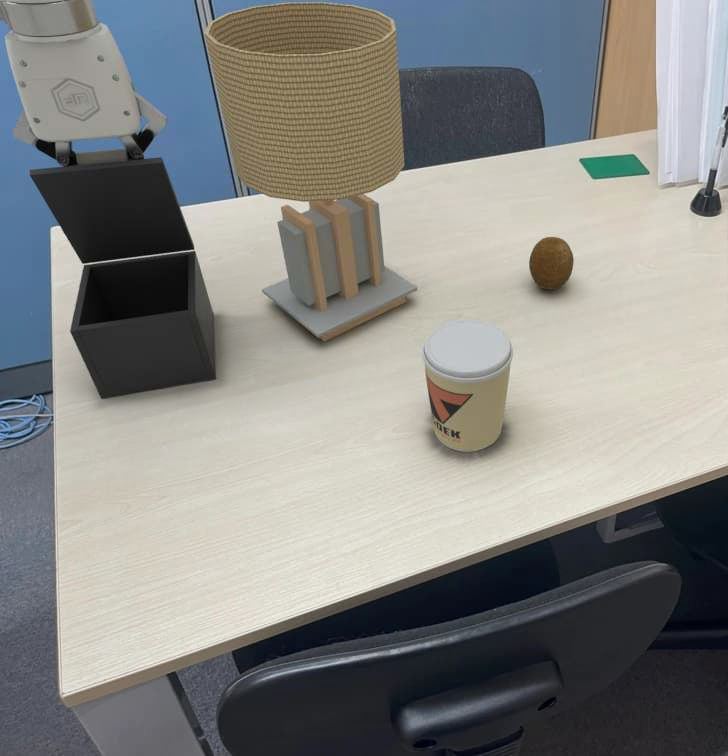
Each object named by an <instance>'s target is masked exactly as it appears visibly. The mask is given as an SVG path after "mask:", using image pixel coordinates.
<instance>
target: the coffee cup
mask: <svg viewBox="0 0 728 756" xmlns="http://www.w3.org/2000/svg"><path fill="white" fill-rule="evenodd" d="M421 347H422V348H421V358H422V361H423V363H424V370H425V371H424V372H425V379H426V385H427V393H428V401H429V407H430V414H431V420H432V426H433V427H432V428H433V432H434V434H435V436H436V438H437V440H438V441H439V442H440V443H441V444H442V445H443V446H445V447H447V448H449V449H451V450H453V451H458V452H462V453H463V452H464V453H467V452H468V453H469V452H472V453H473V452H476V451H481V450H484V449H486V448H488V447H490V446H492V445H493V444H494V443H495V442H497V440H498V438H499V437H500V435H501V433H502V429H503V423H504V416H505V410H506V403H507V395H508V389H509V380H510V374H511V364H512V361H513V358H514V357H513V356H514V348H513V343H512V341H510V339H509V337H508V335H507V334H506V333H505V331H504V330H502V329H501V328H500V327H499V326H497V325H496V324H494V323H491V322H489V321H485V320H481V319H474V318H461V319H454V320H450V321H447V322H444V323H442V324H440V325H438V326H437V327H435V328H434V329H432V330H431V331H430V332H429V334H428V335H427V337H426V339H425V340H424V342H423V344H422V346H421Z"/></svg>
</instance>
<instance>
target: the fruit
mask: <svg viewBox="0 0 728 756" xmlns="http://www.w3.org/2000/svg"><path fill="white" fill-rule="evenodd" d="M573 254H574V253H573V251H572V249H571V247H570V244H568V243H567V241H565V240H564V239H563V238H560V237H557V236H546V237H544V238H543V237H542V239H540V240H539V241H538V242H537V243H536V244H534V247H533V248H532V250H531V254H530V256H529V262H528V268H529V272H530V276H531V278H532V280H533V282H534V283H535V284H536V285H537V286H538V287H539V288H541V289H545V290H557V289H560V288H561V287H563V286H564V285H565V284H566V283H567V282H568V281H569V279H570V278H571V275H572V273H573V268H574V263H575V261H574V259H575V257H574V255H573Z"/></svg>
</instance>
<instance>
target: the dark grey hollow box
mask: <svg viewBox="0 0 728 756" xmlns="http://www.w3.org/2000/svg"><path fill="white" fill-rule="evenodd" d="M69 332H70V335H71V337H72V339H73V341H74V343H75V346H76V348H77V350H78V352H79V354H80V356H81V358H82V361H83V362H84V365H85V367H86V369H87V372H88V374H89V376H90V378H91V380H92V382H93V385H94V386H95V388H96V389H95V390H97V392H98V395H99V397H100V399H101V400H103V399H108V398H114V397H120V396H125V395H126V396H127V395H131V394H137V393H144V392H149V391H156V390H161V389H166V388H173V387H178V386H184V385H191V384H196V383H200V382H207V381H212V380H216V379H217V365H216V364H217V363H216V338H215V337H216V335H215V313H214V310H213V307H212V304H211V300H210V296H209V293H208V290H207V286H206V283H205V280H204V276H203V273H202V269H201V265H200V262H199V259H198V255H197V252H196V250H189V251H181V252H173V253H165V254H157V255H149V256H141V257H134V258H126V259H118V260H110V261H102V262H94V263H87V264H83V268H82V272H81V277H80V281H79V287H78V290H77V297H76V301H75V305H74V310H73V315H72V320H71V324H70V329H69Z"/></svg>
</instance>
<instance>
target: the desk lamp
mask: <svg viewBox="0 0 728 756" xmlns="http://www.w3.org/2000/svg"><path fill="white" fill-rule="evenodd" d="M203 35H204V38H205V43H206V47H207V52H208V56H209V60H210V65H211V70H212V73H213V78H214V82H215V87H216V91H217V96H218V98H219V104H220V109H221V113H222V118H223V123H224V126H225V130H226V135H227V139H228V143H229V144H228V145H229V148H230V152H231V157H232V161H233V165H234V169H235V174H236V175H237V177H238V178H239V179H240V181H241V182H242V183H243V184H244V186H245V187H246V188H247V189H249V190H252V191H255V192H257V193H260V194H262V195H264V196H266V197H268V198H273V199H274V198H275V199H282V200H287V201H295V202H296V201H297V202H302V203H303V202H304V203H305V202H308V206H309V210H306V211H303V212H299V211H298V210H296V209H295V208H293V207H292V206H290V205H289V204H286V205H285V204H284V205H283V206H280V211H281V216H282V219H281V220H278V221H277V228H278V233H279V239H280V243H281V248H282V254H283V258H284V263H285V268H286V273H287V278H286V279H282V280H280V281H278V282H275V283H273V284H271V285H267V286H266V287H263V288H262V289H261V292H262V293H263V294H264V296H266V297H268V298H269V299H270V300H271V301H272V302H273V303H275V304H276V305H277V306H278V307H280V308H281V309H282V310H283V311H284V312H286V313H287V314H288V315H289V316H291V317H292V319H294V320H296V322H298V323H299V324H300V325H302V326H303V327H304V328H305V329H307V330H308V331H309V333H312V335H314V336H315V337H316V338H318V339H319V340H321V341H322V342H327V341H329V340H330V339H333V338H335V337H337V336H339V335H341V334H344V333H345V332H347V331H349V330H352V329H353V328H355V327H358V326H359V325H361V324H363V323H365V322H368V321H369V320H372V319H374V318H376V317H378V316H380V315H383V314H384V313H386V312H389V311H390V310H393V309H395V308H396V307H398V306H400V305H403V304H405V303H407V296H408V295H410V294H413V293H414V292H416V291H418V287H417V286H416V285H414V284H413V283H411V282H410V281H408V280H407V279H405V278H404V277H402V276H400V274H398V273H397V272H395V271H394V270H392V269H390V268H389V267H388V266H386V265H385V258H384V257H385V256H384V248H383V237H382V226H381V225H382V224H381V213H380V204H379V202H377V201H376V200H374V199H373V198H371V197H369V196H367V194H369V193H372V192H374V191H376V190H379V189H380V188H382V187H384V186H385V185H387V184H389V183H391V182H393V181H395V179H396V178H397V177H398V176H399V174H400V173H401V172H402V170H403V169H404V167H405V165H406V164H405V152H404V149H405V148H404V134H403V119H402V102H401V101H402V100H401V86H400V71H399V70H400V69H399V55H398V54H399V53H398V39H397V28H396V25H395V20H394V19H393V18H391V17H389V16H387V15H386V14H385V13H382V12H381V11H379V10H375V9H370V8H367V7H362V6H358V5H354V4H345V3H335V2H324V1H316V2H315V1H312V2H311V1H310V2H308V1H307V2H305V1H304V2H302V1H301V2H300V1H299V2H279V3H272V4H264V5H256V6H250V7H246V8H243V9H239V10H235V11H231V12H226V13H224V15H221V16H219V17H217V18H216V19H213V20H212V21H209V22H208V24H207V27H206V28H205V30H204V34H203Z"/></svg>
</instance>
